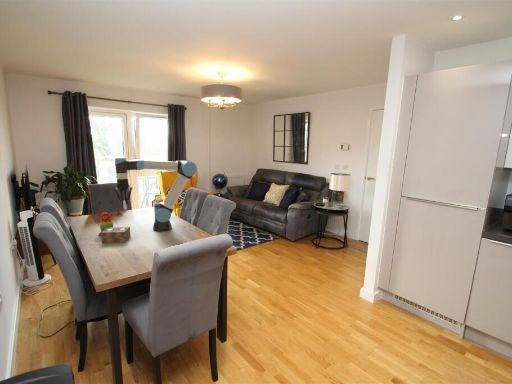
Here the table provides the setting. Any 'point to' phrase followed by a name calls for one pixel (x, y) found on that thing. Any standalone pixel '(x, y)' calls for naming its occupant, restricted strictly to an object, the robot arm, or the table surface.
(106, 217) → the stacking bear
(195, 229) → the table surface
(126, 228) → the brown woven basket
